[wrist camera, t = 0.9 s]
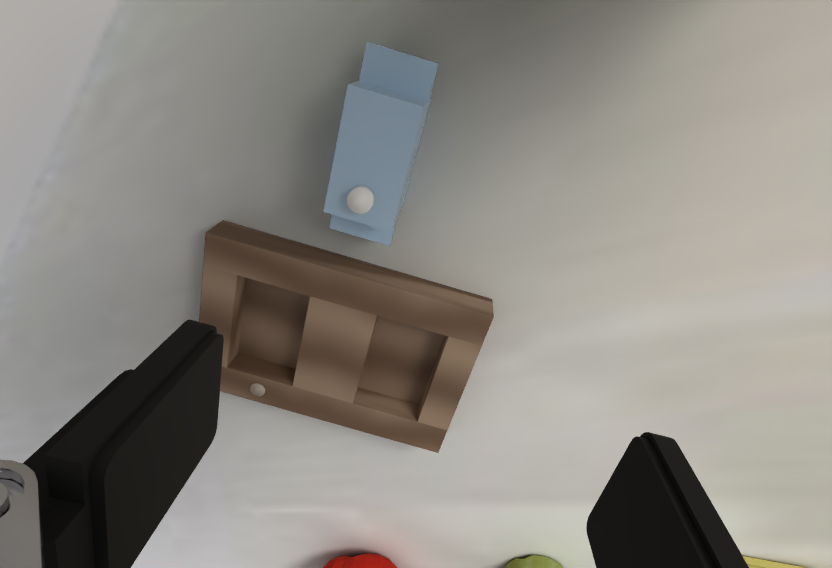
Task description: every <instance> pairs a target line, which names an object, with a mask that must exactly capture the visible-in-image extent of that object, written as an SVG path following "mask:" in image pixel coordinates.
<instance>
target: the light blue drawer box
mask: <svg viewBox="0 0 832 568" xmlns="http://www.w3.org/2000/svg"><path fill="white" fill-rule="evenodd" d="M438 66H439V63H436V62H433V61H430V60H427V59H423V58H420V57H417V56H414V55H410V54H407V53H404V52H400V51H397V50H394V49H391V48H387V47H384V46H381V45H378V44H374V43H371V42H366V47H365V52H364V57H363V62H362V67H361V72H360V77H359V81H356V82H353V83H350V84H348V85H347V90H346V96H345V101H344V106H343V111H342V116H341V122H340V127H339V132H338V137H337V142H336V148H335V153H334V158H333V163H332V168H331V174H330V179H329V184H328V189H327V195H326V200H325V205H324V210H323V212H325V213H328V214H332V216H331V221H330V226H329V228H330V229H333V230H337V231H340V232H344V233H347V234H350V235H354V236H357V237H360V238H364V239H367V240H371V241H374V242H377V243H381V244H384V245H388V246H390V243H391V241H392V237H393V233H394V230H395V226H396V222H397V218H398V215H399V212H400V210H401V207H402V205H403V202H404V198H405V195H406V191H407V187H408V183H409V180H410V176H411V172H412V169H413V165H414V161H415V158H416V154H417V150H418V146H419V143H420V139H421V135H422V132H423V128H424V124H425V121H426V117H427V113H428V109H429V106H430V102H431V98H432V97H430V96H431V92H432V88H433V85H434V81H435V77H436V73H437V70H438Z"/></svg>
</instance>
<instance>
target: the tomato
mask: <svg viewBox="0 0 832 568" xmlns="http://www.w3.org/2000/svg"><path fill="white" fill-rule="evenodd" d="M323 568H397V567H396V566H395V565H394V564H393V563H392V562H391V561H390V560H389V559H388V558H385V557H383V556H381V555H379V554H368V553H367V554H362V555H357V556H354V557H350V556H340V557H337V558H334V559H332V560H330V561H329V562H328V563H327V564H326V565H325V566H324V567H323Z"/></svg>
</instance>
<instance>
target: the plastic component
mask: <svg viewBox="0 0 832 568" xmlns="http://www.w3.org/2000/svg"><path fill="white" fill-rule="evenodd" d="M743 558H744V560H745V561H746V563H747V565H748V567H749V568H805V567H800V566H794V565H789V564H783V563H778V562H772V561H767V560H761V559H756V558H750V557H745V556H743Z"/></svg>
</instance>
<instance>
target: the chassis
mask: <svg viewBox="0 0 832 568" xmlns="http://www.w3.org/2000/svg"><path fill="white" fill-rule="evenodd" d="M493 317H494V315H493V303H492V299H489V298H486V297H483V296H479V295H476V294H472V293H469V292H465V291H462V290H459V289H455V288H452V287H448V286H445V285H442V284H438V283H435V282H431V281H428V280H425V279H421V278H418V277H414V276H411V275H408V274H404V273H401V272H397V271H394V270H391V269H387V268H384V267H380V266H377V265H373V264H370V263H367V262H363V261H360V260H356V259H353V258H350V257H346V256H343V255H339V254H336V253H333V252H329V251H326V250H322V249H319V248H316V247H312V246H309V245H305V244H302V243H298V242H295V241H292V240H288V239H285V238H281V237H278V236H275V235H271V234H268V233H264V232H261V231H258V230H254V229H251V228H247V227H244V226H241V225H237V224H234V223H230V222H227V221H224V220H223V221H222V222H220V223H219V224H217V225H216V226H214V227H213V228H211V229H210V230H209V231H207V232H206V236H205V250H204V263H203V276H202V290H201V303H200V317H199V322H201V323H205V324H209V325H213V326H215V327H216V329H217V333H218V334H222V335H223V337H224V343H223V356H222V369H221V382H220V391H222V392H225V393H229V394H232V395H236V396H239V397H243V398H246V399H250V400H253V401H257V402H260V403H264V404H267V405H271V406H275V407H278V408H282V409H285V410H289V411H292V412H296V413H299V414H303V415H306V416H310V417H313V418H317V419H320V420H324V421H327V422H331V423H335V424H338V425H342V426H345V427H349V428H352V429H356V430H359V431H363V432H366V433H370V434H373V435H377V436H380V437H384V438H388V439H391V440H395V441H398V442H402V443H405V444H409V445H412V446H416V447H419V448H423V449H426V450H430V451H433V452H437V453H438V452H439V449H440V447H441V445H442V442H443V440H444V437H445V435H446V432H447V430H448V427H449V425H450V422H451V420H452V418H453V415H454V413H455V410H456V408H457V405H458V403H459V400H460V398H461V395H462V393H463V391H464V388H465V386H466V383H467V381H468V378H469V376H470V373H471V371H472V368H473V366H474V364H475V361H476V359H477V356H478V354H479V351H480V349H481V346H482V344H483V341H484V339H485V336H486V334H487V332H488V329H489V327H490V324H491V322H492V319H493Z"/></svg>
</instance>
